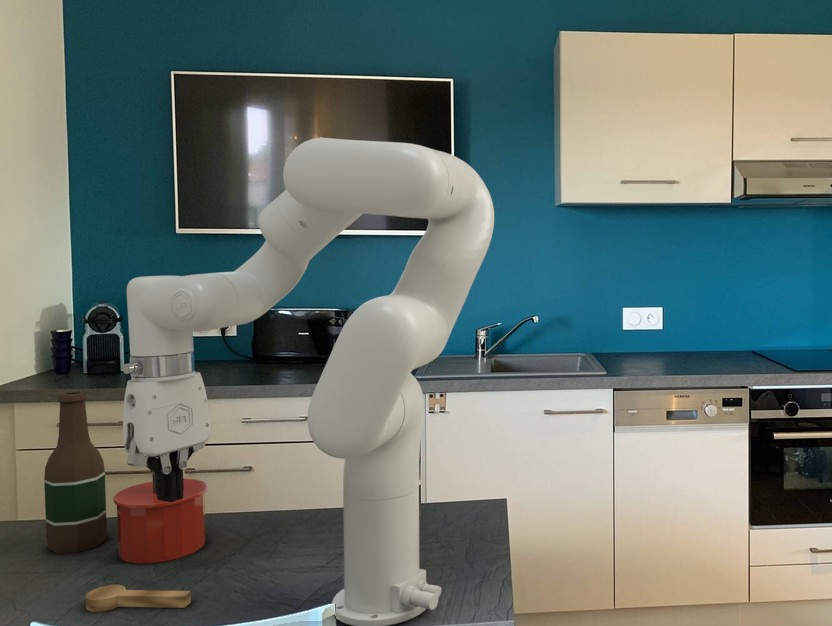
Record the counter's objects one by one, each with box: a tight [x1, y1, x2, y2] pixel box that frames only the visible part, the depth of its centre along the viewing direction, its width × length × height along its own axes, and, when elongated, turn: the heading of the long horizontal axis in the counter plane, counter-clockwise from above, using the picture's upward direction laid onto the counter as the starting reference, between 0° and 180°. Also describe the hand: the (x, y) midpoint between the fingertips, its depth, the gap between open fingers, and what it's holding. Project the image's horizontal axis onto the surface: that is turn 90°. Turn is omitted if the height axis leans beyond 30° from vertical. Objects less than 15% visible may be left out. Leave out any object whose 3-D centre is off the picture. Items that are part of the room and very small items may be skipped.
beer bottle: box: [43, 390, 108, 555], centre depth 120 cm, size 8×8×24 cm
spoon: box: [85, 584, 192, 613], centre depth 101 cm, size 13×4×2 cm, turn 89°
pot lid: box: [113, 472, 209, 508], centre depth 119 cm, size 13×13×4 cm
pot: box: [116, 492, 207, 564], centre depth 120 cm, size 12×12×8 cm
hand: (170, 499), depth 106 cm, fingers closed
